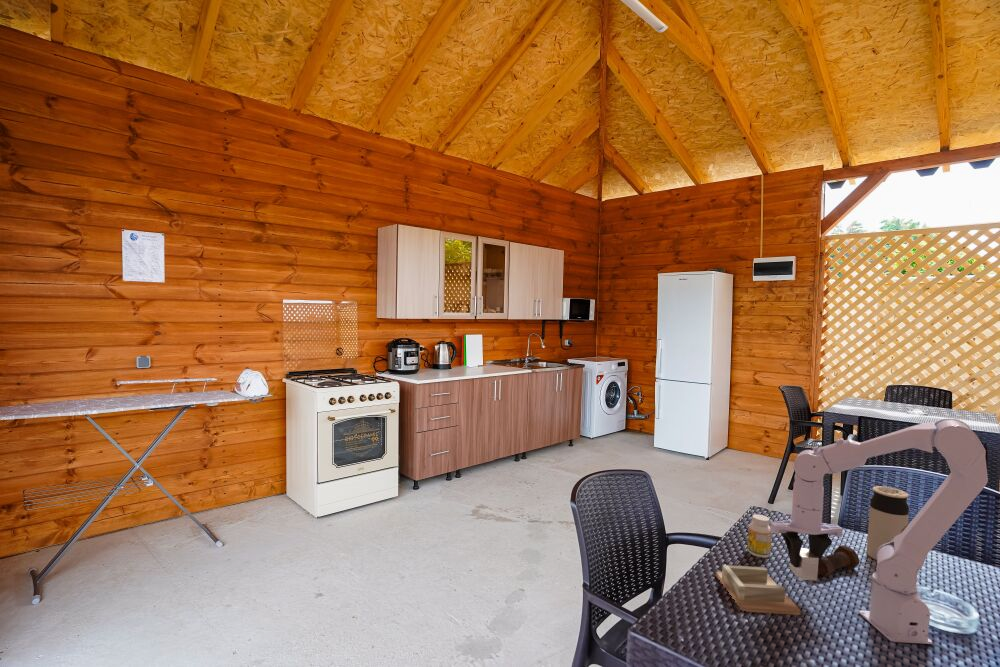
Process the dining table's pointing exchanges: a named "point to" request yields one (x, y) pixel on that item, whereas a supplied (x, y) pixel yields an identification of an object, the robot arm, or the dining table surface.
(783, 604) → the keeper cradle
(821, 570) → the bolt
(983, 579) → the dining table surface
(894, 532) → the travel mug
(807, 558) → the link block
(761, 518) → the supplement bottle
